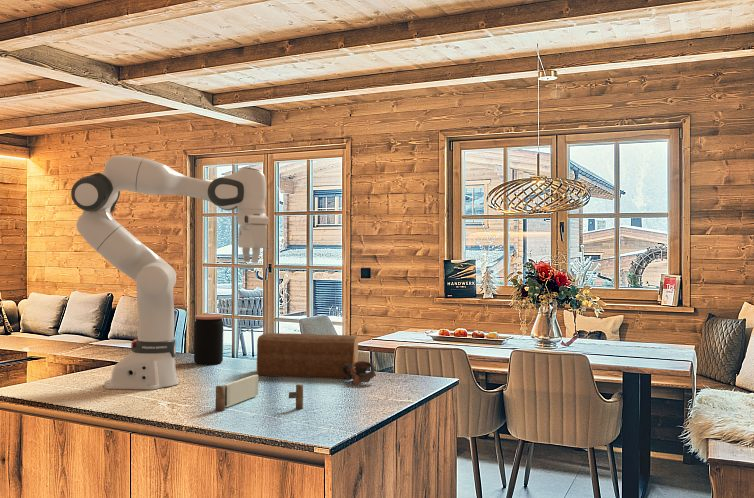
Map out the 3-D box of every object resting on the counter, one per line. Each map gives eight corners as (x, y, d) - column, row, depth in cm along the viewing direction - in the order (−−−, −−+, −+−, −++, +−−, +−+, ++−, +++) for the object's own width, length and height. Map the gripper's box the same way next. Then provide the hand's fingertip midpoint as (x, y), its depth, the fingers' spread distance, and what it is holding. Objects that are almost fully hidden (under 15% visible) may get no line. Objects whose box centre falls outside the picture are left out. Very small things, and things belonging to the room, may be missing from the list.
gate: (226, 407, 194) (227, 385, 194) (223, 406, 194) (223, 384, 194) (258, 395, 210) (258, 374, 210) (254, 394, 210) (254, 374, 210)
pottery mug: (378, 382, 238) (380, 363, 233) (367, 399, 230) (369, 380, 226) (346, 370, 241) (347, 351, 237) (334, 387, 233) (335, 368, 229)
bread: (265, 369, 256) (265, 330, 256) (358, 372, 253) (358, 332, 253) (255, 376, 242) (256, 335, 242) (353, 379, 239) (354, 337, 239)
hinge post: (215, 411, 190) (215, 387, 190) (215, 409, 192) (216, 385, 192) (224, 411, 191) (224, 387, 190) (224, 409, 193) (225, 385, 193)
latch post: (288, 410, 193) (289, 386, 193) (288, 407, 196) (288, 384, 196) (303, 409, 194) (303, 386, 194) (302, 407, 196) (303, 384, 196)
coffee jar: (228, 362, 268) (229, 315, 268) (208, 366, 259) (208, 317, 259) (208, 359, 273) (209, 313, 273) (187, 363, 264) (188, 315, 264)
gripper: (233, 219, 232) (232, 261, 232) (250, 217, 214) (249, 263, 214) (252, 220, 235) (251, 261, 235) (270, 218, 217) (269, 263, 217)
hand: (250, 262), depth 224 cm, fingers open, 8 cm apart
